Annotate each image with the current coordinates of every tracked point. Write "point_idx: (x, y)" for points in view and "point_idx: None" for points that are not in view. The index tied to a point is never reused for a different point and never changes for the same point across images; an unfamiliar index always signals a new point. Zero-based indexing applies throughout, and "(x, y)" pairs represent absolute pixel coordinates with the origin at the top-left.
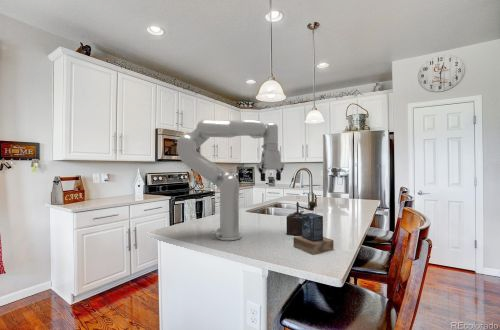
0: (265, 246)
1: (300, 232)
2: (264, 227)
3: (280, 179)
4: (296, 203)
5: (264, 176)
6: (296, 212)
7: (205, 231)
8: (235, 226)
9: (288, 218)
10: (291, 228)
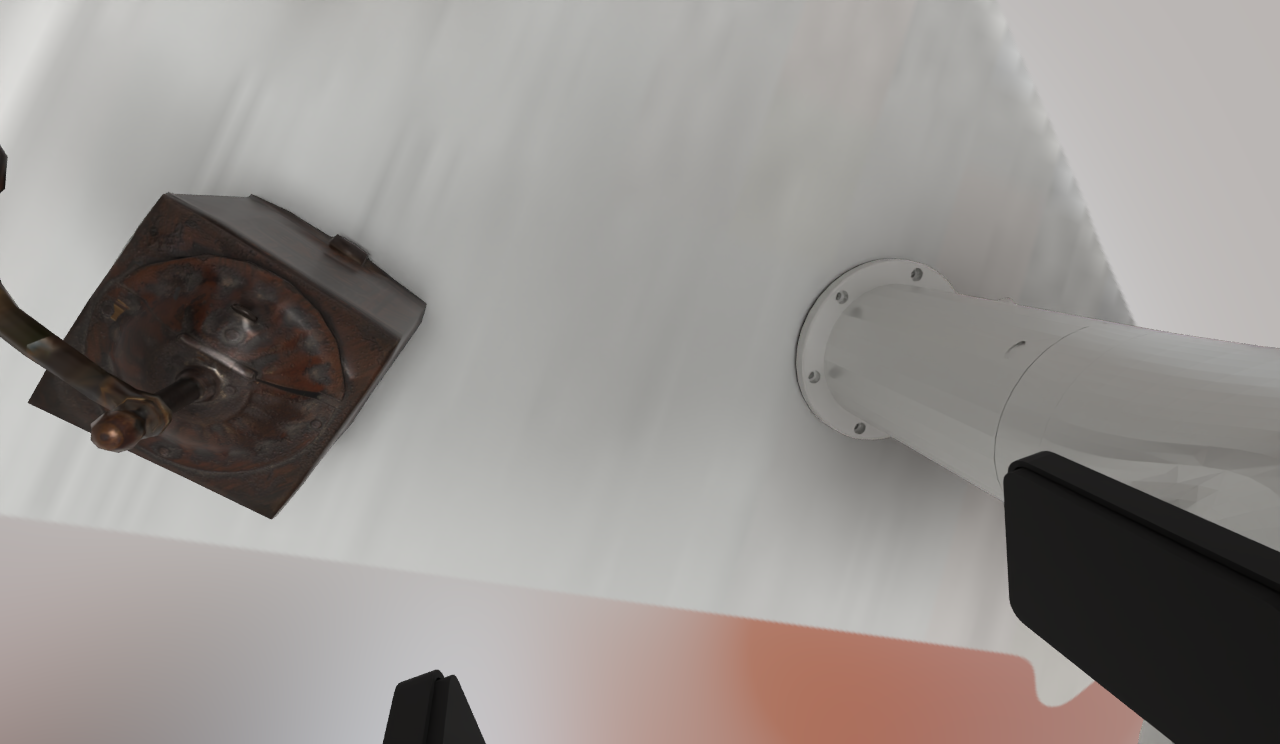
0: (718, 37)
1: (294, 226)
2: (540, 567)
3: (399, 699)
4: (143, 435)
5: (1189, 514)
6: (226, 359)
7: (969, 528)
8: (917, 303)
9: (380, 321)
10: (372, 283)
